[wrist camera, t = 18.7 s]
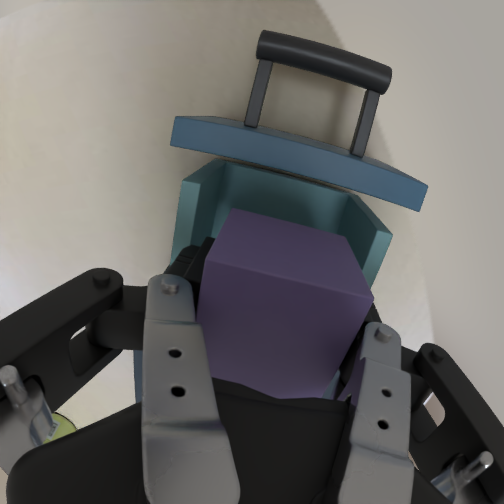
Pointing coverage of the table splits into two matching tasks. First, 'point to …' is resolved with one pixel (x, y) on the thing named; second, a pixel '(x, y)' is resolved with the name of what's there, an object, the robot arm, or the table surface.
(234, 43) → the table surface
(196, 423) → the robot arm
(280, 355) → the block
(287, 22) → the table surface
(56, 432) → the tube
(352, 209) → the drawer
